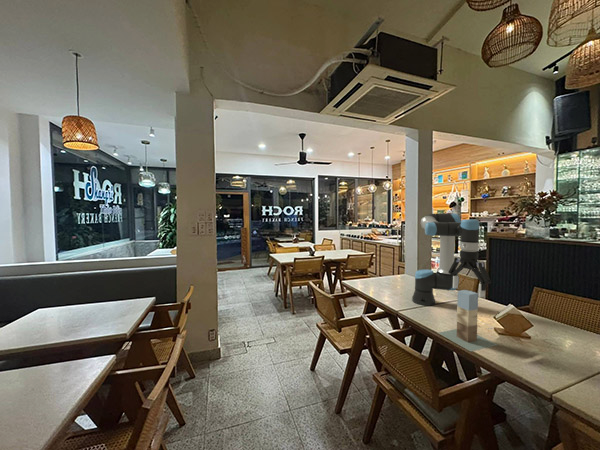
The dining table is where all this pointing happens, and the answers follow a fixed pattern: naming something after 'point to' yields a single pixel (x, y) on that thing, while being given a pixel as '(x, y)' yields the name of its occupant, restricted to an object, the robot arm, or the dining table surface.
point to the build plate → (470, 346)
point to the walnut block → (467, 332)
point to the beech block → (467, 316)
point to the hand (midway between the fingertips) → (467, 292)
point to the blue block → (467, 300)
